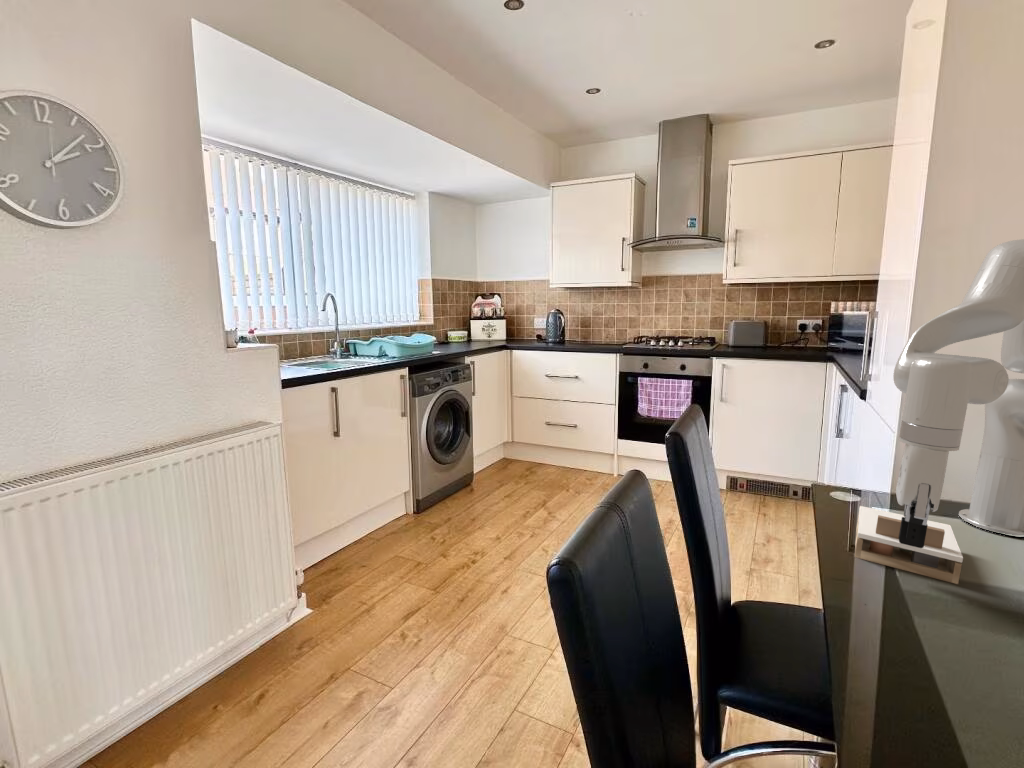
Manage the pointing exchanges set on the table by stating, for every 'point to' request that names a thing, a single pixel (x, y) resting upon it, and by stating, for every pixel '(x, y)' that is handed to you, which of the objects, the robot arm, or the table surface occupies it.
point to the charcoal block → (925, 559)
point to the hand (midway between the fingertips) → (910, 543)
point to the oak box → (908, 561)
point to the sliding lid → (887, 530)
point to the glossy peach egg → (881, 548)
